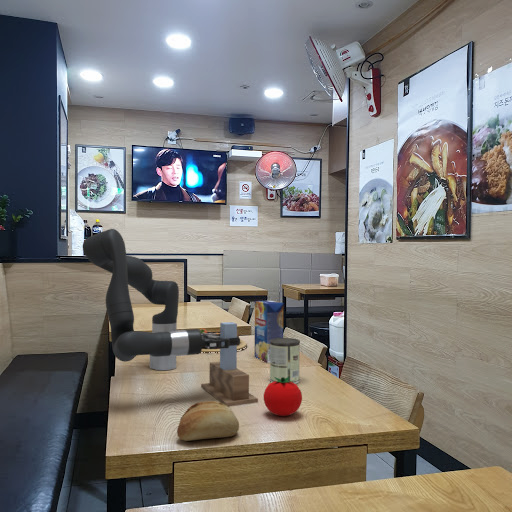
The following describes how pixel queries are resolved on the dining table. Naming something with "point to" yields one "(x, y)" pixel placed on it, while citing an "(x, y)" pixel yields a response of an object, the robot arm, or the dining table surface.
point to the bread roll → (207, 422)
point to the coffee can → (284, 359)
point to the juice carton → (267, 327)
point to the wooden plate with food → (207, 350)
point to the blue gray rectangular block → (229, 354)
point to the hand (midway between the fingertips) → (234, 338)
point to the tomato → (282, 397)
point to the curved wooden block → (229, 386)
